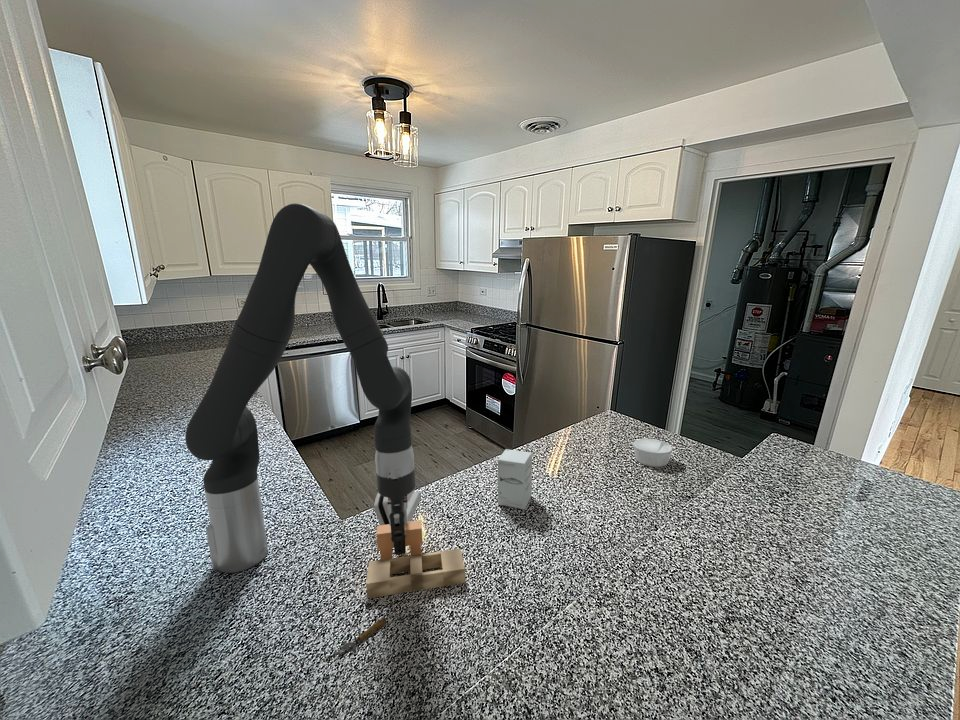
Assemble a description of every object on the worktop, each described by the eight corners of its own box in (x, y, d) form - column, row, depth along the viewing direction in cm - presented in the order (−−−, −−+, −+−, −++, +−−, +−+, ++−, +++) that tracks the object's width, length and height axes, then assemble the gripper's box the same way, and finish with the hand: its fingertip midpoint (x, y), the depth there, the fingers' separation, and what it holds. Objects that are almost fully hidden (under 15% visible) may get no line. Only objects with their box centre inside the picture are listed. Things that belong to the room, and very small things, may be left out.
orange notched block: (379, 565, 80) (376, 534, 78) (380, 555, 83) (377, 525, 81) (423, 558, 81) (421, 528, 80) (423, 549, 84) (421, 520, 83)
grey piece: (404, 535, 89) (387, 497, 88) (385, 541, 90) (368, 502, 89) (422, 496, 106) (408, 464, 104) (406, 501, 106) (392, 469, 105)
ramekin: (678, 468, 118) (679, 452, 117) (640, 469, 118) (641, 453, 117) (661, 453, 129) (662, 438, 128) (627, 454, 129) (628, 438, 128)
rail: (367, 598, 71) (366, 583, 71) (370, 575, 77) (369, 561, 76) (465, 582, 74) (464, 568, 74) (461, 561, 80) (460, 548, 80)
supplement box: (497, 505, 100) (496, 459, 98) (506, 491, 107) (505, 447, 105) (525, 510, 98) (524, 463, 95) (532, 496, 104) (532, 451, 102)
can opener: (384, 621, 67) (383, 615, 66) (391, 629, 65) (390, 623, 65) (331, 654, 61) (330, 648, 61) (337, 664, 59) (336, 658, 59)
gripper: (378, 454, 85) (384, 524, 88) (372, 487, 71) (379, 568, 74) (413, 451, 86) (417, 520, 89) (415, 482, 72) (420, 563, 75)
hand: (400, 542), depth 81 cm, fingers open, 6 cm apart
